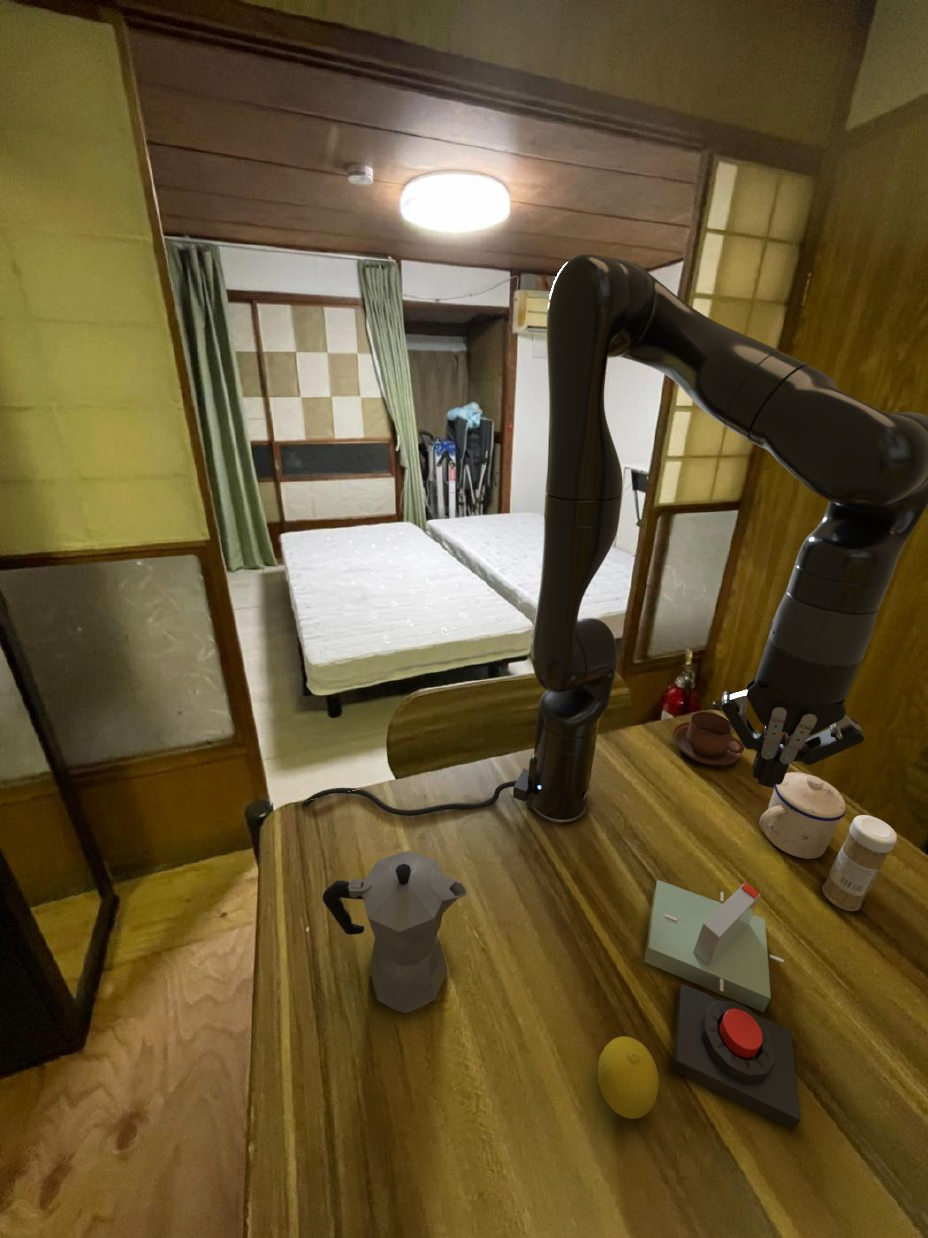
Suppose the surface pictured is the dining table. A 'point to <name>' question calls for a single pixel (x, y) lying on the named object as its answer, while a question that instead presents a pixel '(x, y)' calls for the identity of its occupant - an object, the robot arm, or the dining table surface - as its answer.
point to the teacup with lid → (802, 815)
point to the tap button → (741, 1033)
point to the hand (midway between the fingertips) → (764, 781)
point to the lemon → (628, 1077)
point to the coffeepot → (401, 925)
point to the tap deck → (676, 936)
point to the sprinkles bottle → (858, 862)
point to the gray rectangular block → (726, 923)
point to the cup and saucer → (708, 739)
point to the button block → (735, 1058)
